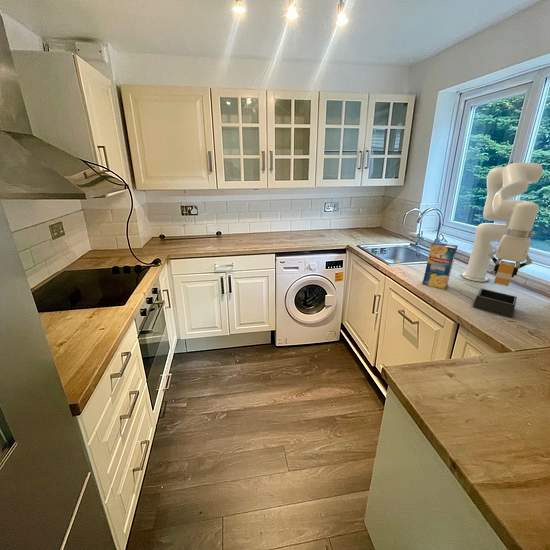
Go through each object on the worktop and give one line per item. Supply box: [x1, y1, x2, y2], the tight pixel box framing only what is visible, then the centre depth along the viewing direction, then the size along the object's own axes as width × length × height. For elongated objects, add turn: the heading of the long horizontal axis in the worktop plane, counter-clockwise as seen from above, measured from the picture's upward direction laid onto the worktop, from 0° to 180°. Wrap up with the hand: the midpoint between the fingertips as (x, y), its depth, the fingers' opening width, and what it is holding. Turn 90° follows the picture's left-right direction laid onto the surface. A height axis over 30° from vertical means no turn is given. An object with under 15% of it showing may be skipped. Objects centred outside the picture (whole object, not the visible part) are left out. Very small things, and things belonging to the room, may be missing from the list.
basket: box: [473, 287, 518, 318], centre depth 129 cm, size 14×12×6 cm
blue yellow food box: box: [422, 241, 459, 290], centre depth 150 cm, size 7×11×22 cm, turn 51°
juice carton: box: [493, 260, 516, 287], centre depth 124 cm, size 6×5×9 cm
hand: (504, 274), depth 124 cm, fingers closed on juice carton, 5 cm apart
